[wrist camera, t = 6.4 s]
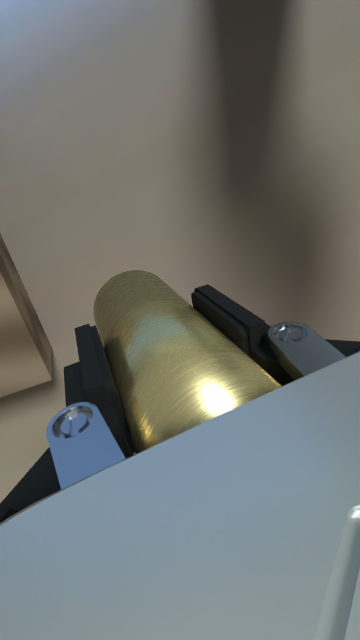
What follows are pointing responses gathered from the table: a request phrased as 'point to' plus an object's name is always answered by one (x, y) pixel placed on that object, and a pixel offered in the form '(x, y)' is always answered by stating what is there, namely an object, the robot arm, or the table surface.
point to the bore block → (20, 334)
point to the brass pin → (169, 359)
